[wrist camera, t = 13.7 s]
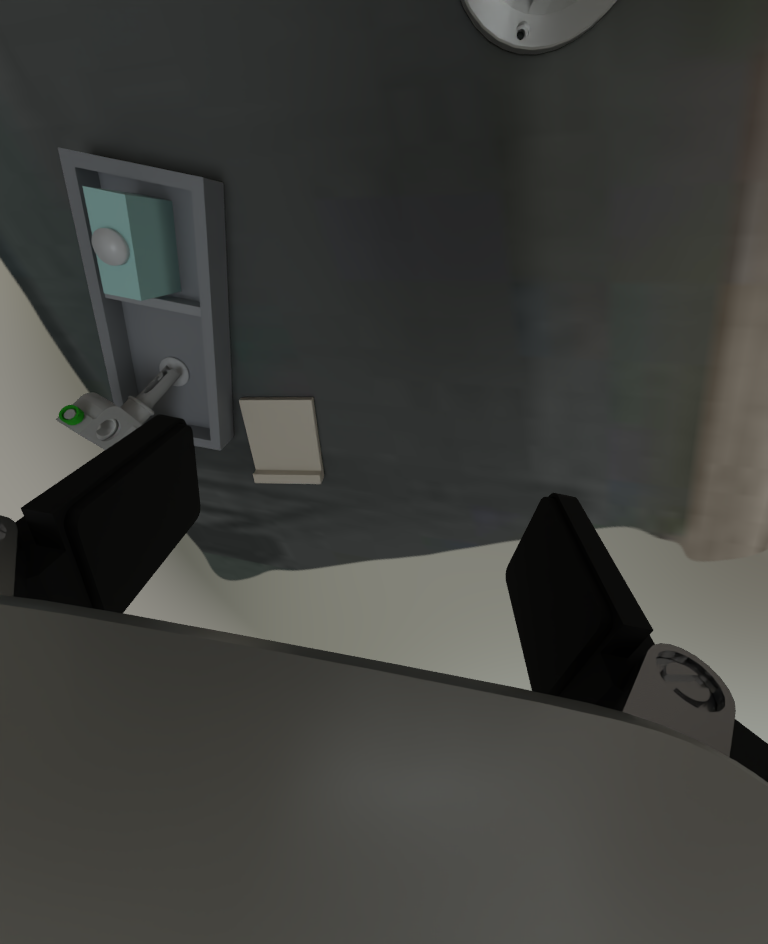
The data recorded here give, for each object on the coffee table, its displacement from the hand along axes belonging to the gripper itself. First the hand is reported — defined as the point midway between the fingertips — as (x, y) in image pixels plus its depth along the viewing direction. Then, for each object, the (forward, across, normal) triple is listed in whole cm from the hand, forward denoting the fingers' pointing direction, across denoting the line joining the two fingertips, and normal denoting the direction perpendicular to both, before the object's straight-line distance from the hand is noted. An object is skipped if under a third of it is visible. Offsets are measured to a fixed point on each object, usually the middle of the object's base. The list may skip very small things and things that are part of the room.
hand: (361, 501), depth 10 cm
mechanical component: (+28, +22, +10) cm, 37 cm away
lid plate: (+30, +11, +16) cm, 36 cm away
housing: (+30, +22, +5) cm, 38 cm away
